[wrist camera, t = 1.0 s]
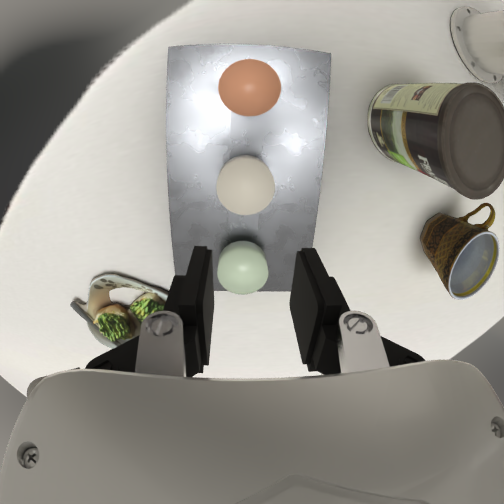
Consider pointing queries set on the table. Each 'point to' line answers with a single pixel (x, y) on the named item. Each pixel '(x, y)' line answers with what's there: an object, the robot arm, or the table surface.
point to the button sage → (242, 267)
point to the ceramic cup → (461, 251)
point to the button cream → (245, 185)
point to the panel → (245, 143)
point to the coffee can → (443, 133)
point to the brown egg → (249, 87)
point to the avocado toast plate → (118, 309)
